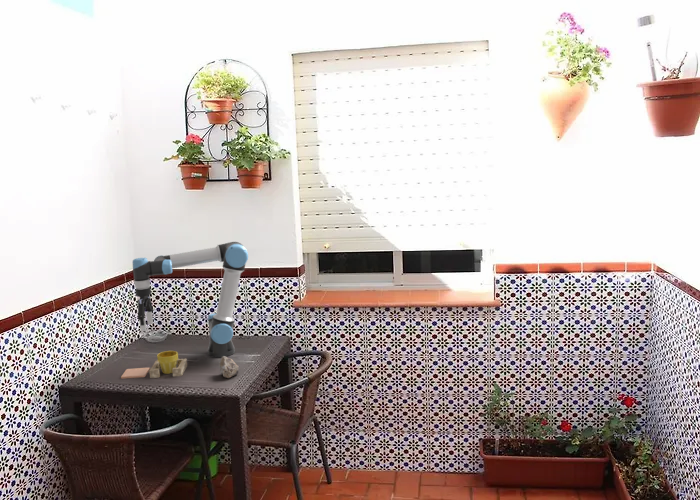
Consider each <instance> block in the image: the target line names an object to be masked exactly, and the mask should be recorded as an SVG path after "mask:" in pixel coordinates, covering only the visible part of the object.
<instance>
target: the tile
mask: <svg viewBox="0 0 700 500" xmlns="http://www.w3.org/2000/svg"><path fill="white" fill-rule="evenodd" d="M150 369H151V367H138V368H137V367H135V368H127V369H125V371H124V372H123V374H122V375H121V376H120V379H138V378H145V377H147V375H148V373H150V372H149V370H150Z"/></svg>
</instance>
